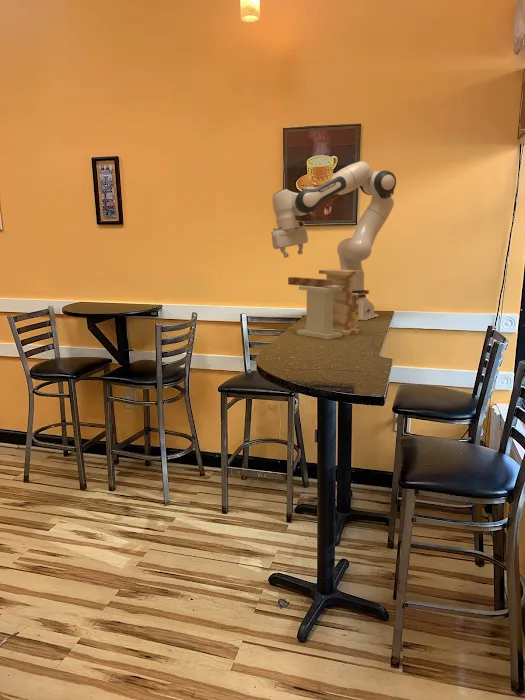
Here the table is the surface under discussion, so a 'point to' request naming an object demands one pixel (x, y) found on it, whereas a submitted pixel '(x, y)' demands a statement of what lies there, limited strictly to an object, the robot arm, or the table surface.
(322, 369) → the table surface
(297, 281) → the scraper
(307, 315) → the short pedestal
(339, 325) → the tall pedestal
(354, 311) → the candy box
